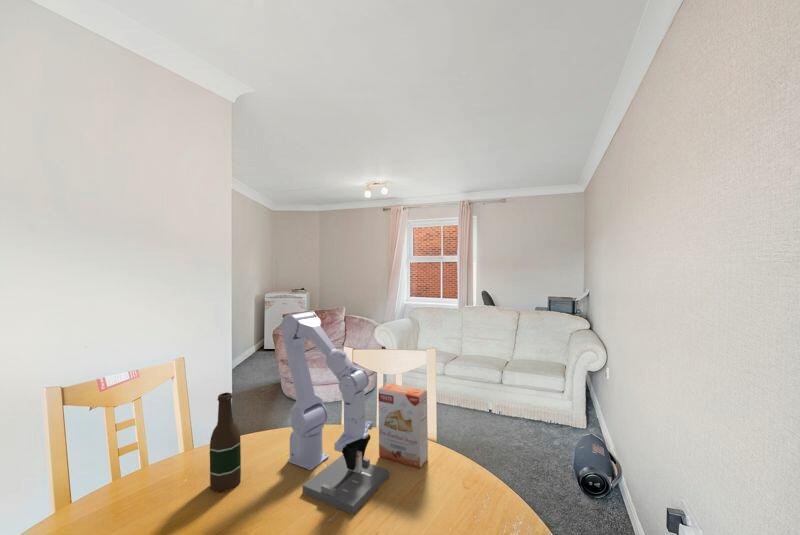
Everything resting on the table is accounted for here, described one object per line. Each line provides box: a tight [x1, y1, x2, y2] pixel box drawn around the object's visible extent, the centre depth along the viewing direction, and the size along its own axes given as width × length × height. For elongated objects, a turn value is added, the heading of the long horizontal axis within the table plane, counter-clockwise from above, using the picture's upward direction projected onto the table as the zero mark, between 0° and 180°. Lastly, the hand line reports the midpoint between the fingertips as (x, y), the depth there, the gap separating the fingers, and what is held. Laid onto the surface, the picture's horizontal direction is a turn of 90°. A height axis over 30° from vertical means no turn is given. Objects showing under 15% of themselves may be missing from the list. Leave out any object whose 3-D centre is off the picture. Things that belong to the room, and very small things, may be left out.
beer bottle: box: [209, 392, 242, 493], centre depth 91 cm, size 8×8×24 cm
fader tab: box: [348, 451, 362, 473], centre depth 93 cm, size 4×2×5 cm, turn 61°
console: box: [302, 454, 390, 515], centre depth 90 cm, size 16×16×4 cm
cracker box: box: [377, 383, 429, 469], centre depth 102 cm, size 14×6×21 cm, turn 61°
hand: (355, 465), depth 93 cm, fingers open, 3 cm apart
